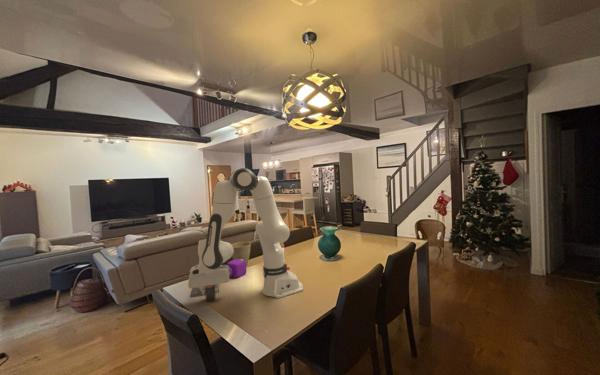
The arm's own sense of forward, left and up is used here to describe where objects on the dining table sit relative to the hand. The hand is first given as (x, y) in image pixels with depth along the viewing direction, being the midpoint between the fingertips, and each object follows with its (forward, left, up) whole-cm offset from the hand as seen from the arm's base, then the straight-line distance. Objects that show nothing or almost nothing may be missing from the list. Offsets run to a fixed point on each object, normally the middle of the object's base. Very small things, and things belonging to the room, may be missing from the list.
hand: (210, 292), depth 128 cm
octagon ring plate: (+3, -14, -4) cm, 15 cm away
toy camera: (-14, -27, -4) cm, 31 cm away
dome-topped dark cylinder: (0, 0, -4) cm, 4 cm away
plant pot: (-19, -44, -4) cm, 48 cm away
